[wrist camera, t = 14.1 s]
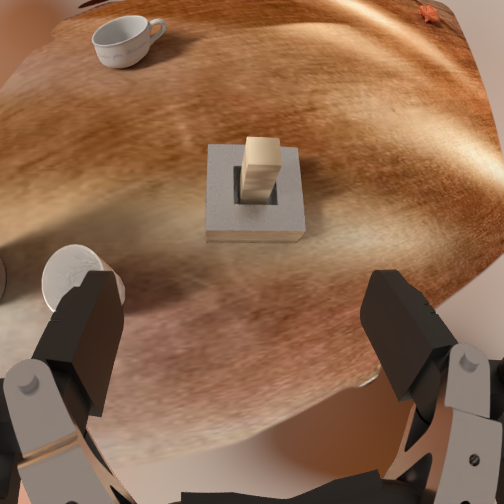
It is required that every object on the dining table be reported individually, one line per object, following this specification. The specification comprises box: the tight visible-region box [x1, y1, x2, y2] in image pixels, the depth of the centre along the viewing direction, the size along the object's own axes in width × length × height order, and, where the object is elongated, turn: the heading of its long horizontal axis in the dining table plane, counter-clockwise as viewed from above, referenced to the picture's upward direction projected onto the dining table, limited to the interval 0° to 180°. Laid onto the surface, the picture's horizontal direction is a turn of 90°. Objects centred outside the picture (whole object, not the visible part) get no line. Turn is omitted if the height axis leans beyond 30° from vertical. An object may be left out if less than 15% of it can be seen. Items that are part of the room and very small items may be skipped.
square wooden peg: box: [238, 137, 282, 205], centre depth 37 cm, size 3×3×12 cm
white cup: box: [42, 244, 125, 312], centre depth 33 cm, size 8×8×10 cm
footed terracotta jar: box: [419, 5, 440, 23], centre depth 66 cm, size 8×8×7 cm
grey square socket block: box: [206, 144, 306, 243], centre depth 41 cm, size 12×12×5 cm
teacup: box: [92, 16, 167, 68], centre depth 45 cm, size 14×11×8 cm
